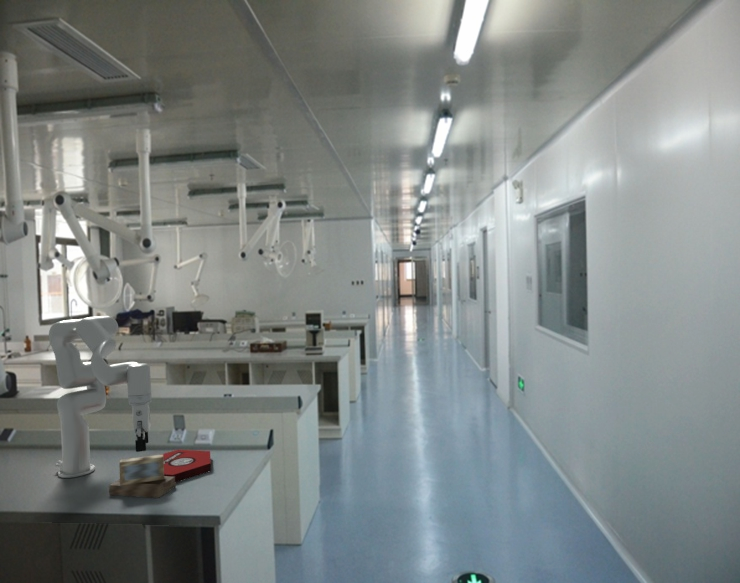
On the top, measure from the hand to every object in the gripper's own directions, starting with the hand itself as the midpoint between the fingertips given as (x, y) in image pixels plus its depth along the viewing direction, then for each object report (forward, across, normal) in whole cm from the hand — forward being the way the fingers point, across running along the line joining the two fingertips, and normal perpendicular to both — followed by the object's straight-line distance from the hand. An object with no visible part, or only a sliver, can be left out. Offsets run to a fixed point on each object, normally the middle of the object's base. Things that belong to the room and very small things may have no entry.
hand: (142, 447), depth 182 cm
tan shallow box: (+16, +1, +1) cm, 16 cm away
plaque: (+16, +19, -10) cm, 27 cm away
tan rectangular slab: (+12, +1, 0) cm, 12 cm away
